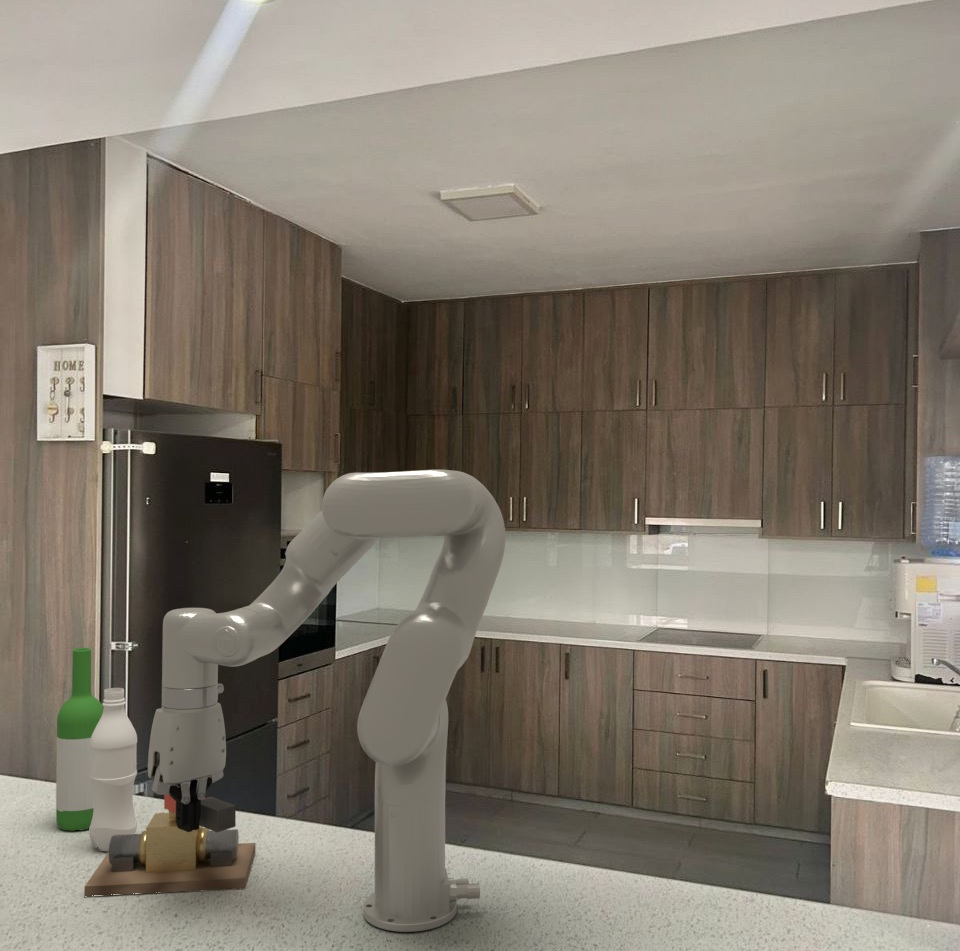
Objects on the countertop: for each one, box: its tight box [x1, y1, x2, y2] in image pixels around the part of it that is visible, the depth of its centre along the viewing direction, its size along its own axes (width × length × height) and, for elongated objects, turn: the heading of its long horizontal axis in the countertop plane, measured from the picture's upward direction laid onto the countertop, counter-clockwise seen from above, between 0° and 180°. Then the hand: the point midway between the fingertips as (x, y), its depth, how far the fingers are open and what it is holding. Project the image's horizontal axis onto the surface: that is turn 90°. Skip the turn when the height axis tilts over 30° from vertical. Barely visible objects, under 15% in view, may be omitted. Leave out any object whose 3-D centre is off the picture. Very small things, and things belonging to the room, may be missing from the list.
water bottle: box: [88, 687, 138, 852], centre depth 154 cm, size 7×7×25 cm
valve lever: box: [163, 795, 237, 832], centre depth 138 cm, size 3×14×4 cm, turn 50°
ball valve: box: [108, 812, 240, 873], centre depth 142 cm, size 18×6×6 cm, turn 97°
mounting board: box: [84, 842, 256, 898], centre depth 142 cm, size 22×14×2 cm, turn 97°
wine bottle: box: [55, 647, 104, 832], centre depth 163 cm, size 8×8×30 cm
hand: (188, 828), depth 133 cm, fingers closed
